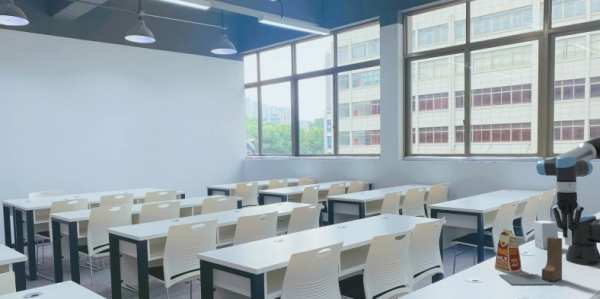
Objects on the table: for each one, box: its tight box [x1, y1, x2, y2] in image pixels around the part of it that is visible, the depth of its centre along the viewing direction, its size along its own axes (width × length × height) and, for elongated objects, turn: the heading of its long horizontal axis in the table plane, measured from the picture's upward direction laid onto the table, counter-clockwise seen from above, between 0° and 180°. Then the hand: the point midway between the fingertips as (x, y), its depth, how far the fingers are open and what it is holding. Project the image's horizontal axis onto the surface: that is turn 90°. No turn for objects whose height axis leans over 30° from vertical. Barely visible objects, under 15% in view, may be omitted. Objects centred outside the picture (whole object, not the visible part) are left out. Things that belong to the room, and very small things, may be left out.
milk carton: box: [494, 228, 523, 274], centre depth 205 cm, size 9×9×20 cm
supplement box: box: [533, 220, 559, 250], centre depth 245 cm, size 9×9×15 cm
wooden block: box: [541, 237, 563, 282], centre depth 187 cm, size 9×4×18 cm, turn 123°
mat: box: [498, 273, 554, 286], centre depth 188 cm, size 17×14×1 cm
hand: (568, 244), depth 186 cm, fingers closed
